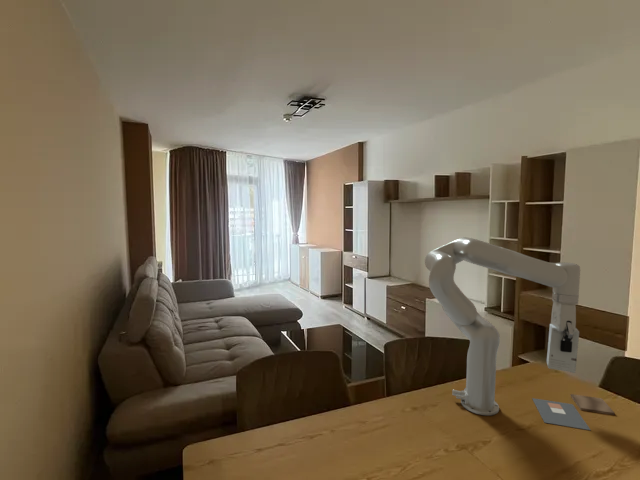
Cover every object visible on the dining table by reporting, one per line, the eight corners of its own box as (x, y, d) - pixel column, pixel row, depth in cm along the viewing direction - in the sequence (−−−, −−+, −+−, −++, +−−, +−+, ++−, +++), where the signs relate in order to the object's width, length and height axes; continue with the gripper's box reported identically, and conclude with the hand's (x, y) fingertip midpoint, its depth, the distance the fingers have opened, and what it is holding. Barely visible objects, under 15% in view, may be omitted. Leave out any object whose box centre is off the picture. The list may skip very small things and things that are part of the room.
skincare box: (548, 368, 123) (550, 327, 122) (546, 362, 129) (548, 322, 127) (577, 373, 120) (579, 331, 118) (574, 366, 125) (576, 326, 124)
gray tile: (544, 422, 117) (544, 422, 117) (532, 398, 132) (532, 398, 132) (590, 430, 113) (590, 429, 113) (572, 404, 128) (572, 404, 128)
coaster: (580, 409, 125) (580, 407, 124) (570, 395, 134) (570, 393, 134) (614, 415, 121) (614, 413, 121) (601, 400, 131) (601, 398, 131)
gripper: (545, 291, 131) (543, 338, 133) (560, 303, 115) (557, 356, 117) (569, 293, 129) (566, 340, 130) (587, 305, 113) (584, 359, 114)
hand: (562, 347), depth 124 cm, fingers closed on skincare box, 6 cm apart
